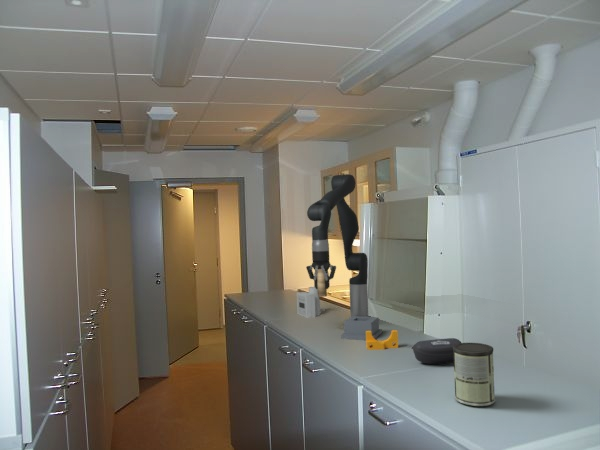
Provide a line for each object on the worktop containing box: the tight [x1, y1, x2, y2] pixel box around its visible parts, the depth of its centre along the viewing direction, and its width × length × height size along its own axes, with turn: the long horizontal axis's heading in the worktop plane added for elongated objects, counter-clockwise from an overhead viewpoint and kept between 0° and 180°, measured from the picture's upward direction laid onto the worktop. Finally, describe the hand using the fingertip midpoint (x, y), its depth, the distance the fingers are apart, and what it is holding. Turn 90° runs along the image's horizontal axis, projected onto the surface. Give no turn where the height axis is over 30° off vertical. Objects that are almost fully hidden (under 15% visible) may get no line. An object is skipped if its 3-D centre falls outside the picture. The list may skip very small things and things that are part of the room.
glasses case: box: [411, 337, 462, 365], centre depth 166 cm, size 18×10×8 cm, turn 103°
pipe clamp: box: [365, 329, 399, 351], centre depth 187 cm, size 12×4×6 cm, turn 88°
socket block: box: [340, 316, 383, 341], centre depth 209 cm, size 15×14×7 cm
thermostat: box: [296, 286, 327, 319], centre depth 260 cm, size 12×14×15 cm
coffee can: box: [453, 342, 496, 407], centre depth 130 cm, size 10×10×14 cm
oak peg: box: [317, 269, 328, 298], centre depth 214 cm, size 4×4×12 cm
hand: (322, 288), depth 214 cm, fingers closed on oak peg, 4 cm apart
